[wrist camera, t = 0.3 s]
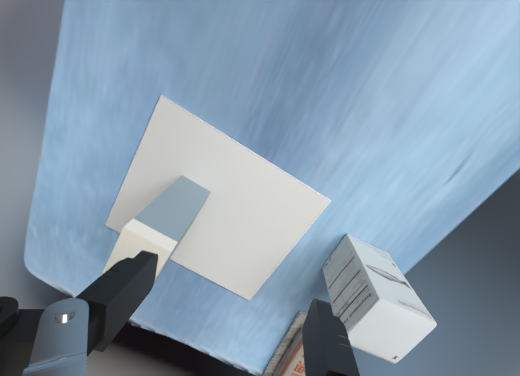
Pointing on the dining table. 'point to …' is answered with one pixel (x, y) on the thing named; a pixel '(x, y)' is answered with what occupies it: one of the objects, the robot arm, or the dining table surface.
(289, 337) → the packaged product
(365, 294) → the supplement box
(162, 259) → the block
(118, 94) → the dining table surface
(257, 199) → the mat
